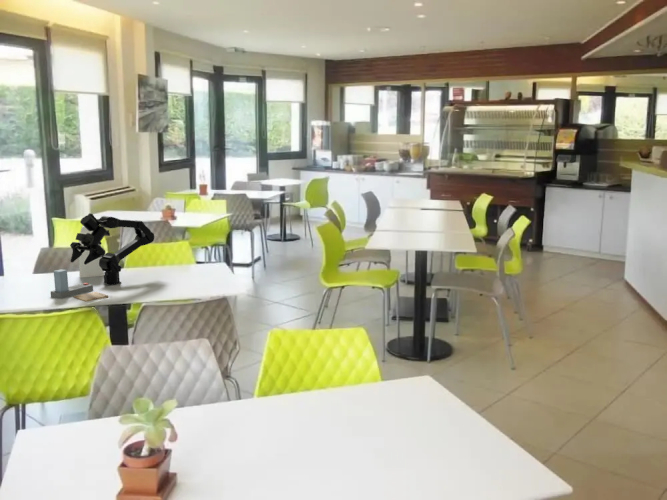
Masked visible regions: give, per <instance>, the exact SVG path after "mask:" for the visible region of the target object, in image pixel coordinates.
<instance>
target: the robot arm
mask: <svg viewBox="0 0 667 500" xmlns="http://www.w3.org/2000/svg"><path fill="white" fill-rule="evenodd" d="M80 224H81V225H82V226H84V227H85V228H86V229H87V230H88V231H93V232H92V233H91V234H90V233H87V234H81V233H80V232H77V234H76V236H75V241H72V242H71V243H70V245H69V246H70V248H71V249H72V253H71V258H70V262H71V263H74V262H75V261H77V260H79V257H80V256H81V255H82V253H83V252H84V251H85V250H87V251H90V252H89V255H88V256H87V258H86V260H85V262H84V264H85V265H86V264H88V263H89V262H91V261H93V260H95V259H97V258H99V257H102V258H101V259H100V260H99V266H100V267H101V269H102V271H104V276H103V283H102V284H105V285H107V286H113V285H117V284H118V285H119V284H122V281H120V272H121V271H122V266H121V265H120V262H121V261H122V260H123V259H124V258H126V257H128V256H129V255H131V254H132V253H134V252H135V251H136V250H137V249H140V247H143V246H146V245H149V244H151V243H153V242H154V241H155V233H154V232H152V231H151V229H150V228H149V227H148V226H146V224H145V223H144V222H143V221H142V220H131V219H130V220H129V219H120V218H118V217H113V216H109V215H108V216H107V215H101V217H100V218H96V216H95V215H94V214H93V213H88V214H86V215H85V216H83V217H82V218H81V220H80ZM116 228H130V229H134V232H135V238H134V239H133V240H131V241H130V242H129V243H126V244H125V245H124V246H122V247H121V248H119V249H118V250H116V251H115V252H113V253H112V252H106V250H105V249H104V248H103V247H102V242H101V241H102V240H103V239H104V237H105V236H107V237H110V236H111V234H110V230H109V229H116ZM77 241H78V242H77ZM79 241H81V243H82V244H83V246H82V245H81V244H80V243H79ZM98 244H99V245H98ZM100 245H101V246H100Z"/></svg>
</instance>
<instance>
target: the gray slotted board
mask: <svg viewBox="0 0 667 500" xmlns="http://www.w3.org/2000/svg"><path fill="white" fill-rule="evenodd" d="M68 289H69V291H66V292H62V293H60V292H55V289H54V290H51V291H50V297H51V298H55V299H61V300H63V299H66V298H69V297H73V296H77V295H82V294H85V293H88V292H91V291H92V292H93V291H94V285H93V284H90V282H83V283H79V284H78V283H77V284H73V285H70V286H68Z"/></svg>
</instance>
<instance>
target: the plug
mask: <svg viewBox="0 0 667 500" xmlns="http://www.w3.org/2000/svg"><path fill="white" fill-rule="evenodd" d="M53 281H54V290H55V292H60V293H62V292H66V291H69V289H68V287H69V279H68V270H67V269H57V270H53Z"/></svg>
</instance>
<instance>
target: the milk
mask: <svg viewBox="0 0 667 500" xmlns="http://www.w3.org/2000/svg"><path fill="white" fill-rule="evenodd" d="M92 232H93V231H88V230H87V229H86V228H85V227H84V226H83V225H82V227H81V229H80V232H79V233H81V234H87V233H90V234H91V233H92ZM78 242H79V243H80V244H81V245H82V246H83V244H82V243H81V241H79V240H78ZM98 245H99V244H98ZM100 246H101V247H102V244H101V245H100ZM89 252H90V251H87V250H85V251H84V252H83V253H82V255H81V256H80V257H79V258H78V262H79V263H78V265H79V267H78V268H79V270H78V271H79V279H81V278H90V277H91V278H94V277H104V275H105V274H104V272H105V271H102V269H101V267H100V266H99V260H100V259H101V258H102V257H99V258H97V259H95V260H93V261H91V262H89V263H88V264H86V265H85V264H84V262H85V260H86V258H87V256H88V255H89Z"/></svg>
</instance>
